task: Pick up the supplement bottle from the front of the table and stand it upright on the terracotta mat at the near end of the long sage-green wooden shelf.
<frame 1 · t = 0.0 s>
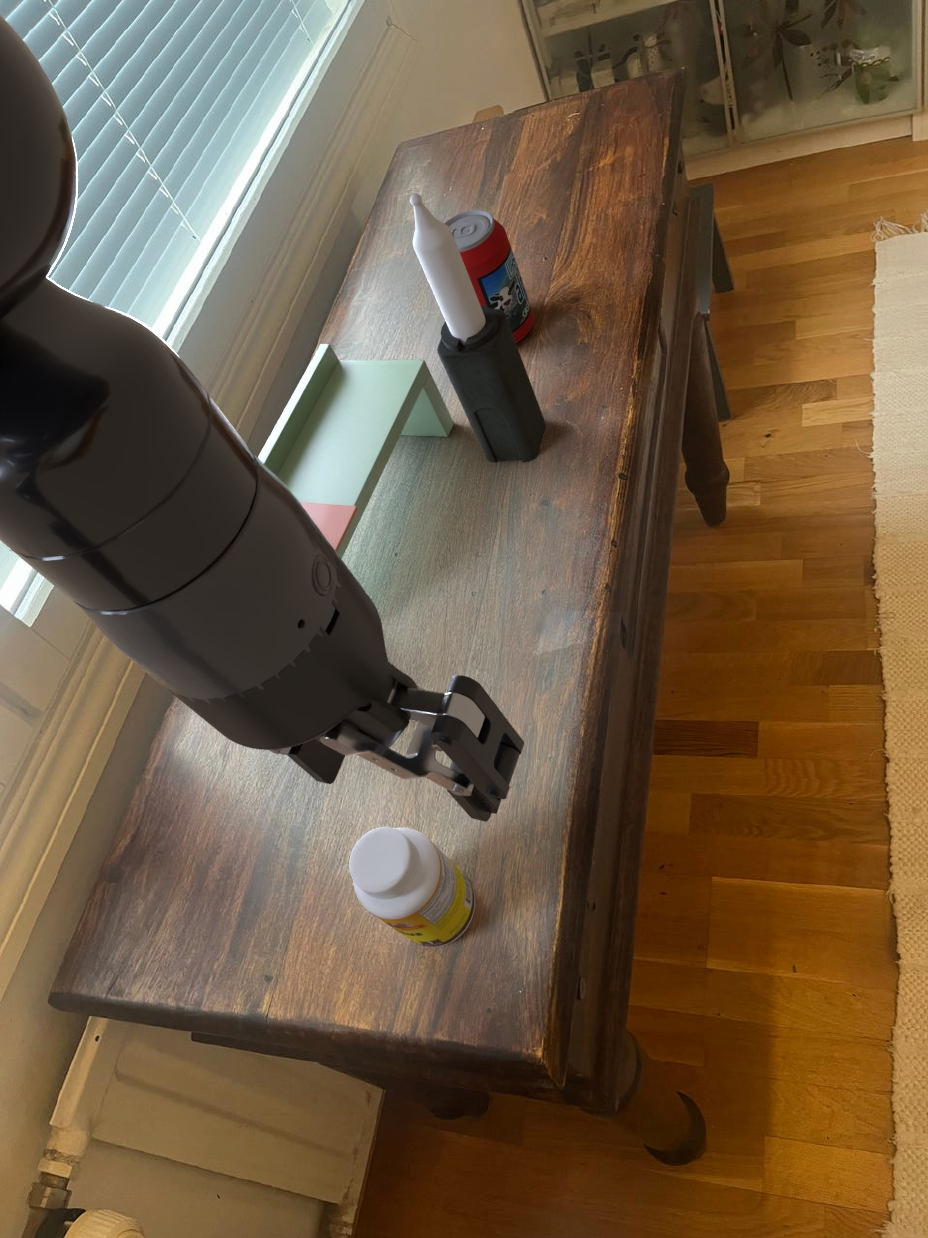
hand: (409, 782, 44), 20 cm above the table, tool pointing down, fingers open, 8 cm apart
shelf: (362, 520, 85), on the table
beverage can: (504, 333, 92), on the table
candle: (516, 442, 84), on the table
supplement bottle: (440, 908, 62), on the table
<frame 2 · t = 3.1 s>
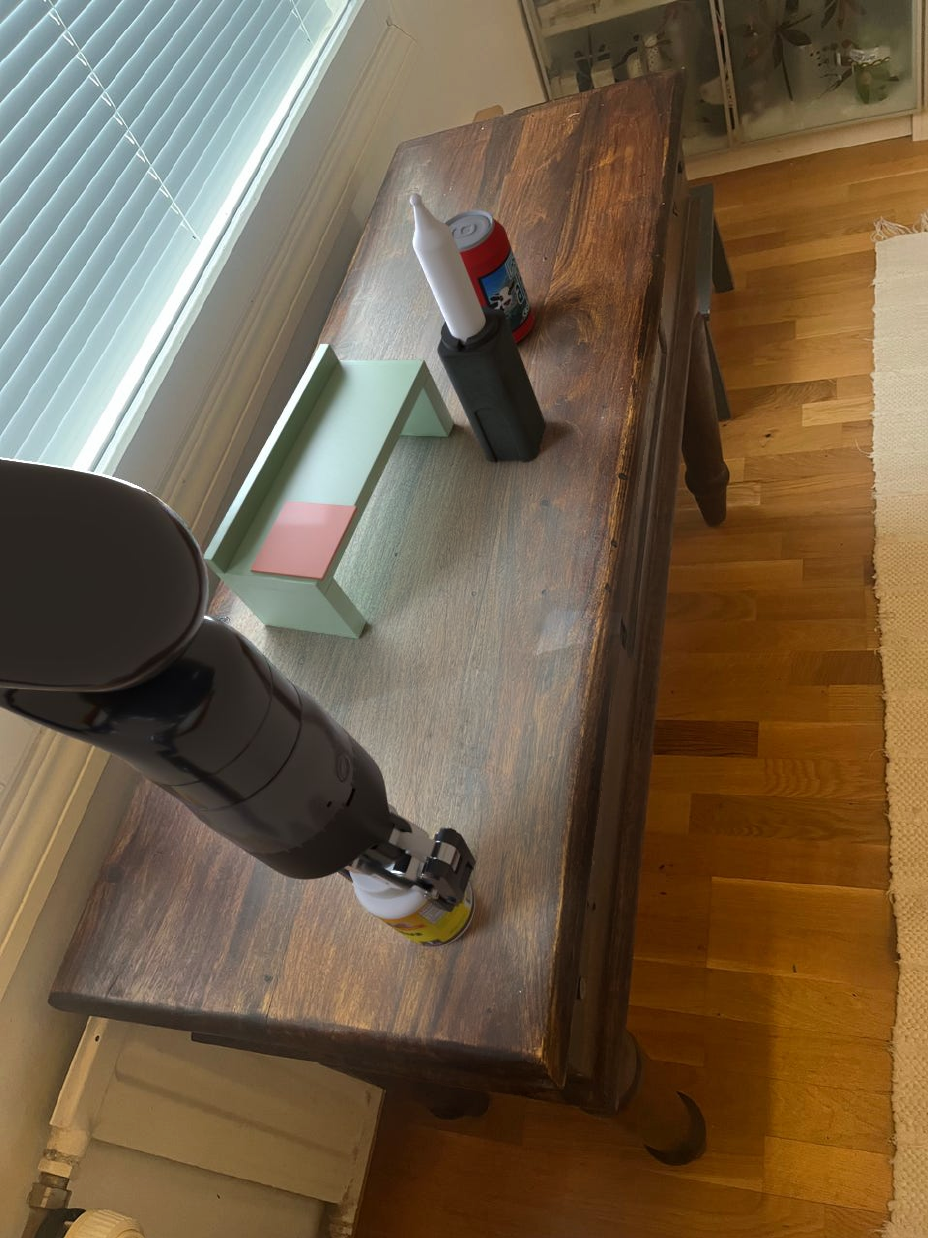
hand: (409, 882, 58), 6 cm above the table, tool pointing down, fingers closed on supplement bottle, 5 cm apart
supplement bottle: (440, 908, 62), on the table, touching gripper
everything else where it was.
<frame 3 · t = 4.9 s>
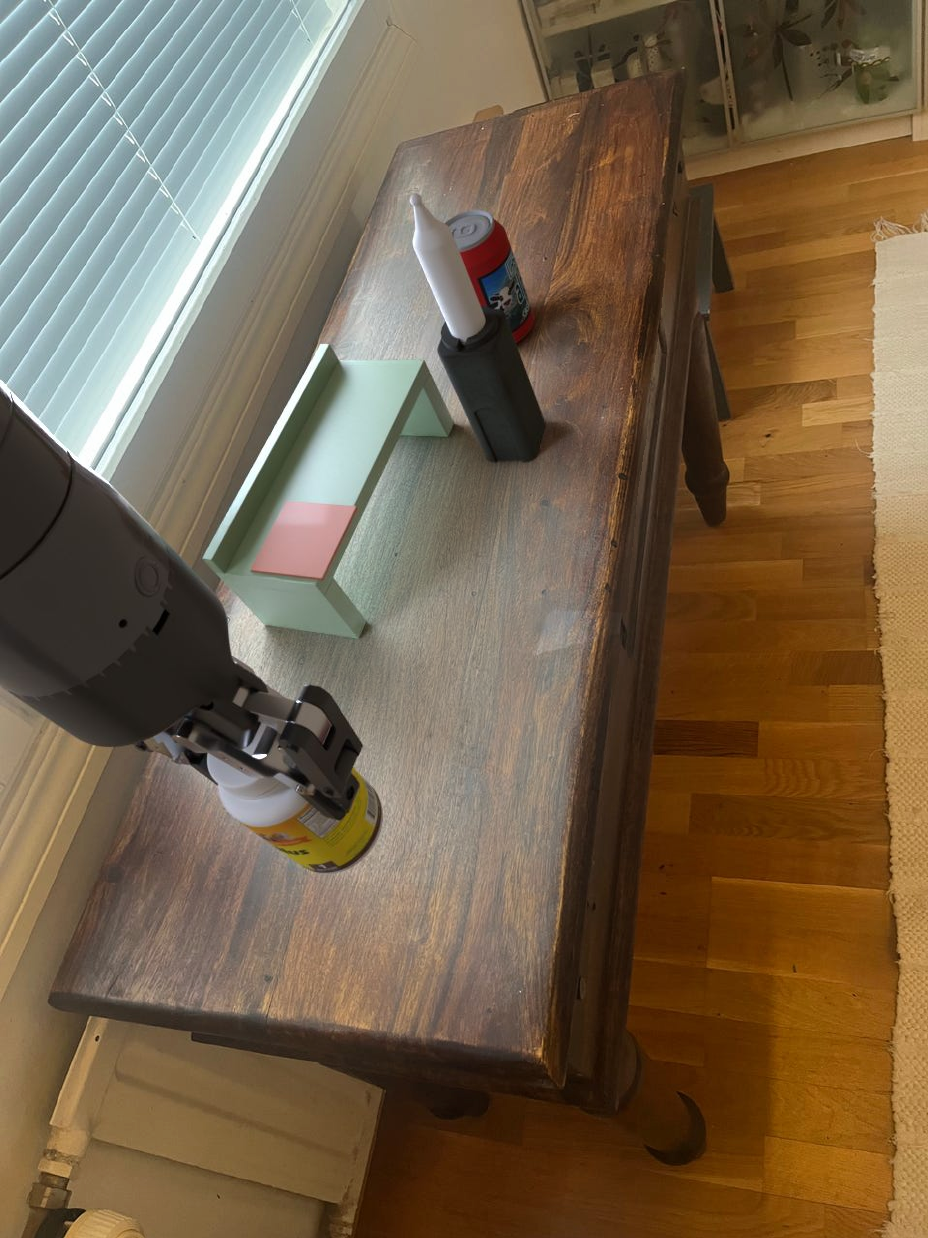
hand: (292, 787, 46), 21 cm above the table, tool pointing down, fingers closed on supplement bottle, 5 cm apart
supplement bottle: (341, 829, 50), point 15 cm above the table, touching gripper
everything else where it was.
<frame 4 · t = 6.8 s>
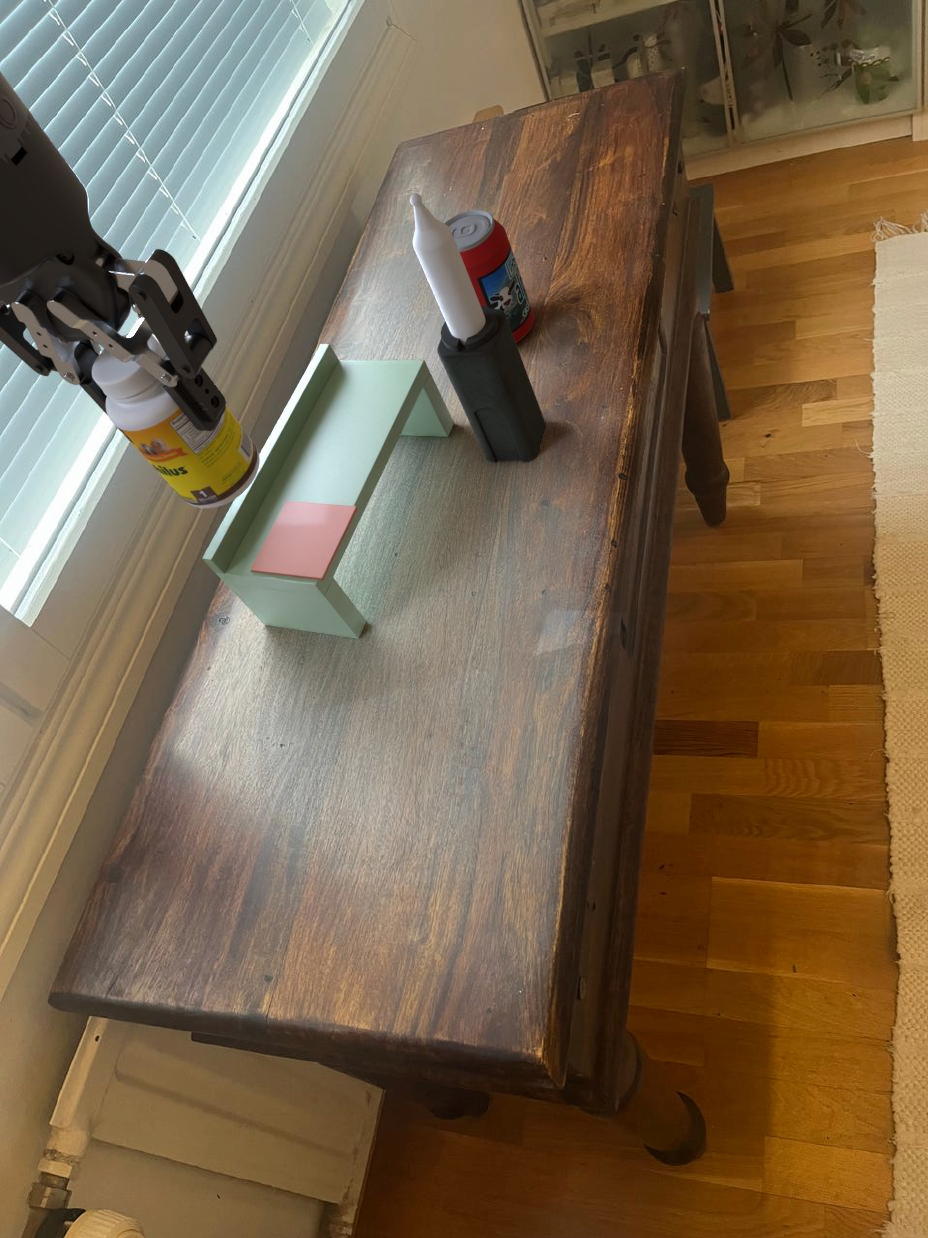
hand: (173, 416, 53), 28 cm above the table, tool pointing down, fingers closed on supplement bottle, 5 cm apart
supplement bottle: (226, 479, 58), point 23 cm above the table, touching gripper
everything else where it was.
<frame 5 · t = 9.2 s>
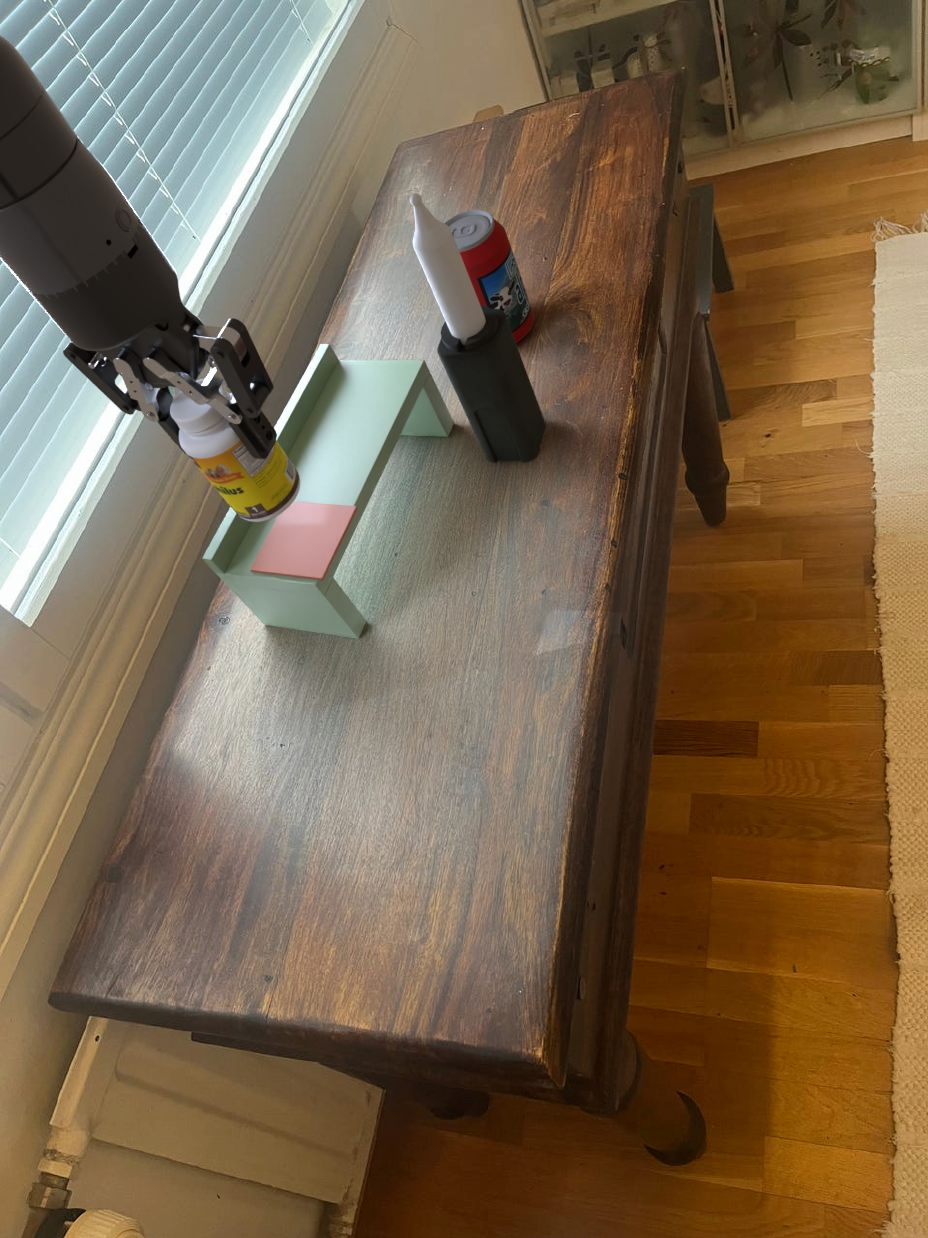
hand: (232, 447, 65), 19 cm above the table, tool pointing down, fingers closed on supplement bottle, 5 cm apart
supplement bottle: (271, 498, 70), point 13 cm above the table, touching gripper
everything else where it was.
when the fingers open (14 cm above the table, at t = 11.0 s): supplement bottle stays where it is, resting on shelf.
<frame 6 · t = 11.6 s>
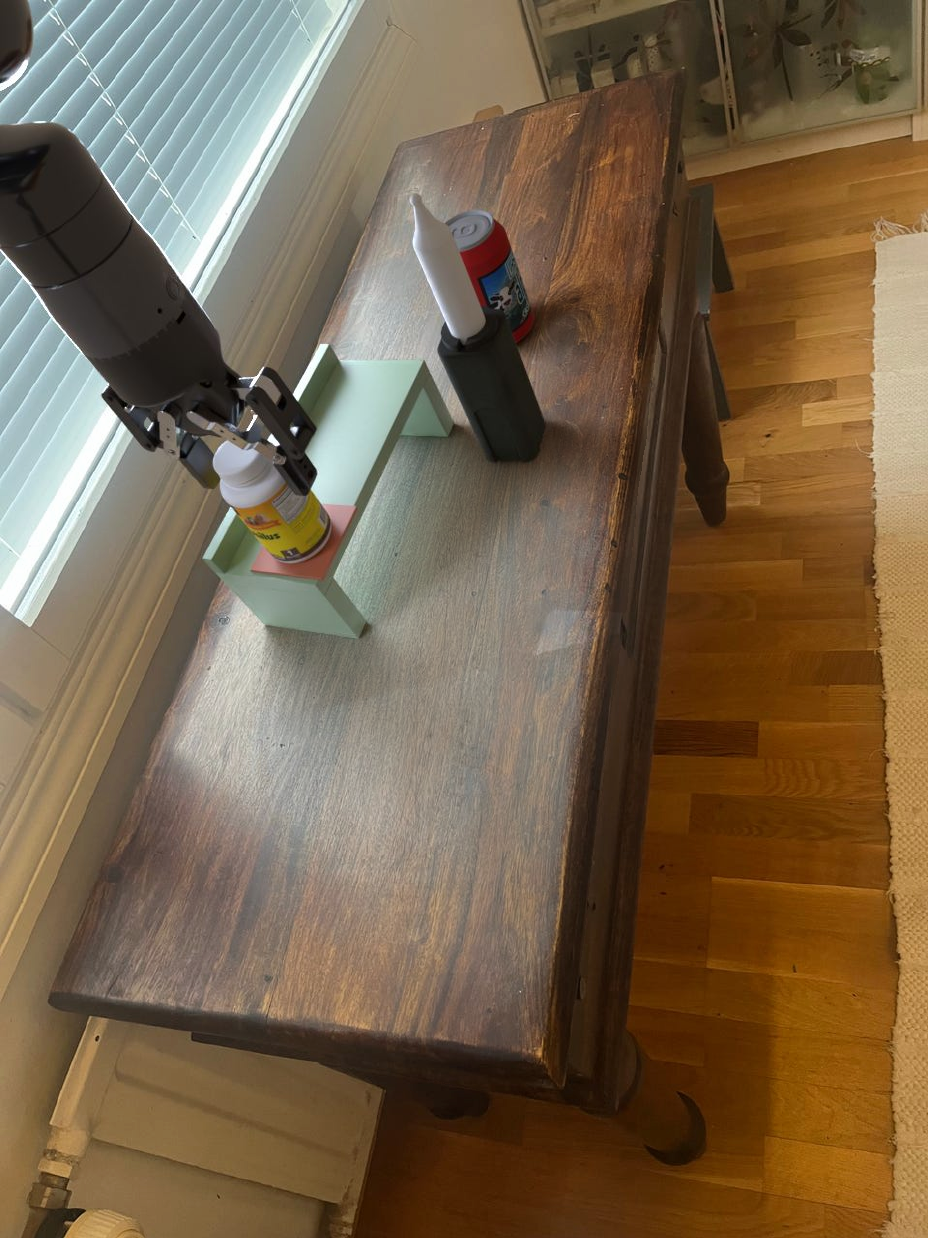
hand: (261, 483, 68), 15 cm above the table, tool pointing down, fingers open, 8 cm apart
supplement bottle: (304, 540, 74), point 8 cm above the table, touching shelf
everything else where it was.
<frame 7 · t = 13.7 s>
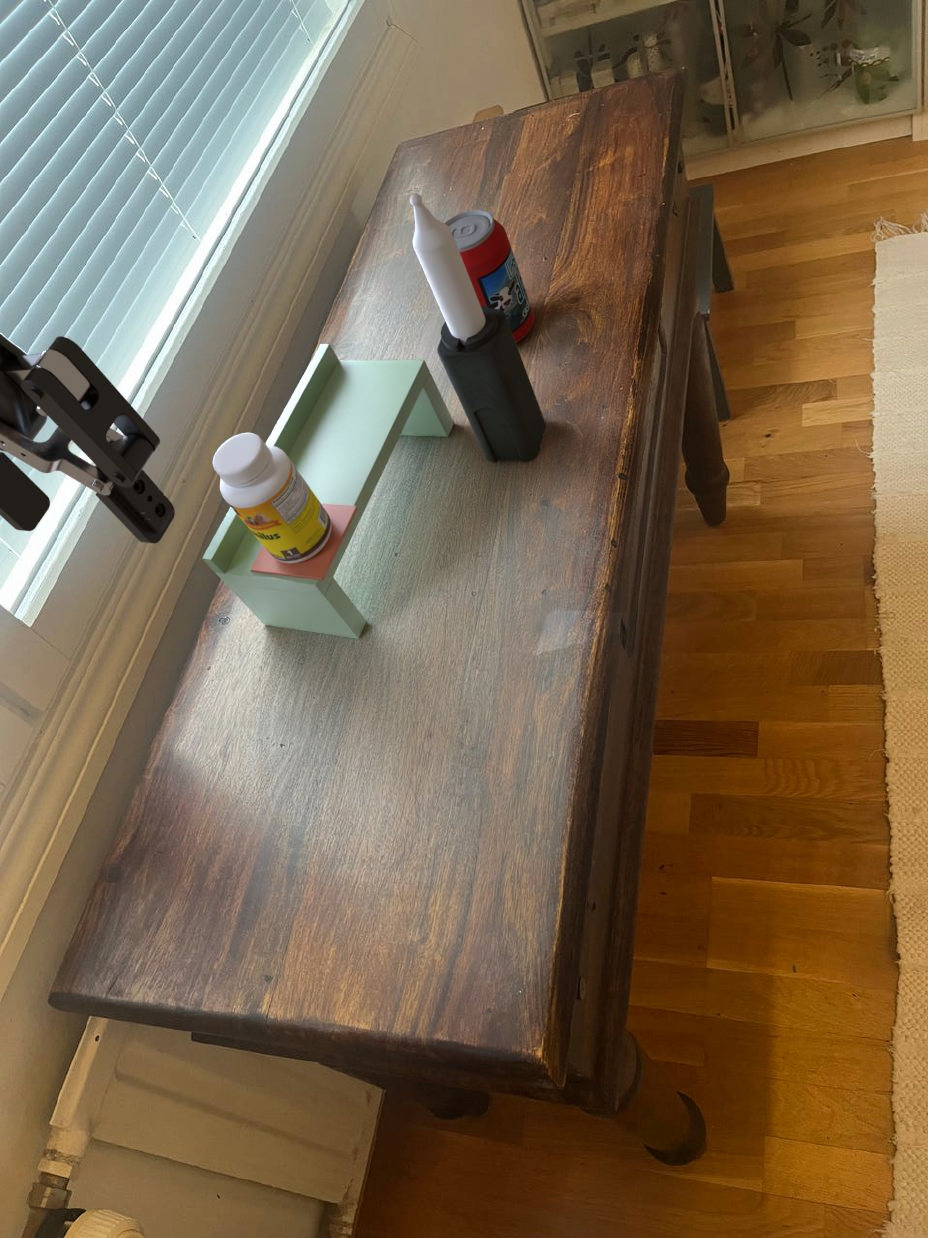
hand: (97, 523, 46), 31 cm above the table, tool pointing down, fingers open, 8 cm apart
nothing on the table moved.
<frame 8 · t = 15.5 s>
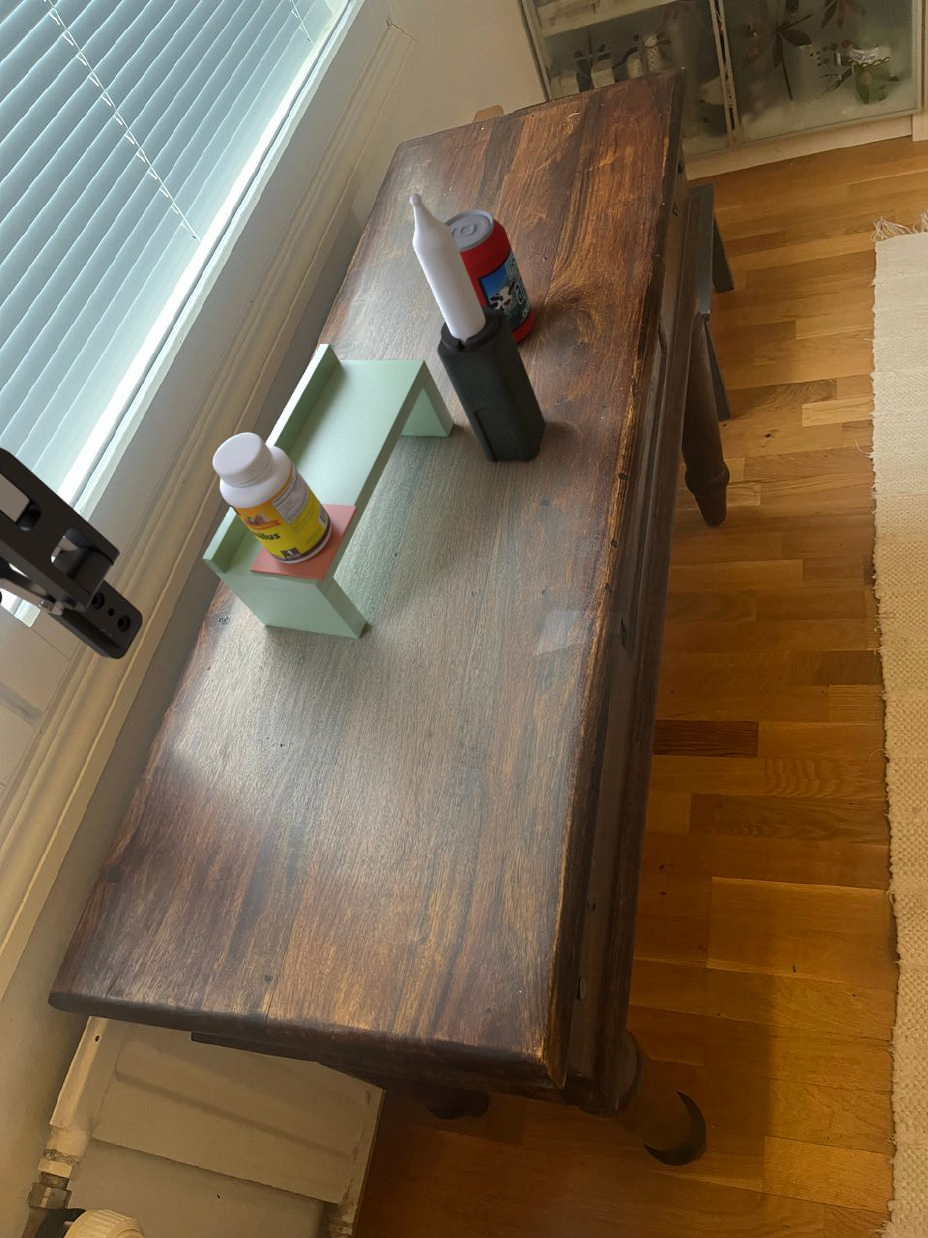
hand: (54, 626, 39), 33 cm above the table, tool pointing down, fingers open, 8 cm apart
nothing on the table moved.
at the end: supplement bottle 0.1 cm from the target spot on the shelf, point 8.1 cm above the shelf's base; supplement bottle tilted 0°; the gripper is holding nothing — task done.
